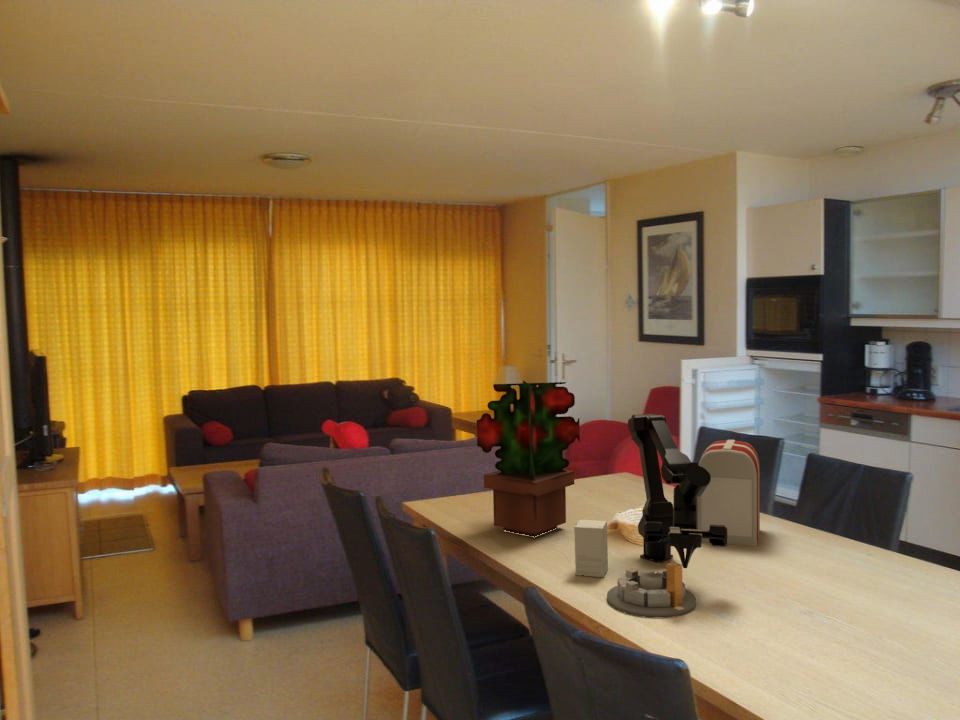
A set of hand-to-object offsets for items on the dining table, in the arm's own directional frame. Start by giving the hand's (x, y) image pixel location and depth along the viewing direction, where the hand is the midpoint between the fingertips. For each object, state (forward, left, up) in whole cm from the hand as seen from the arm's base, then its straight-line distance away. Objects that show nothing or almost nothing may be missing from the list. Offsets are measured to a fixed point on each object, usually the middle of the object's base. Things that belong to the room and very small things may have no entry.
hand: (685, 567), depth 182 cm
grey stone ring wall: (-5, -5, -6) cm, 10 cm away
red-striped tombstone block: (-20, +54, -8) cm, 58 cm away
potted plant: (-66, +18, -8) cm, 69 cm away
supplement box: (-28, +1, -8) cm, 29 cm away
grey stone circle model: (-6, -5, -8) cm, 11 cm away
